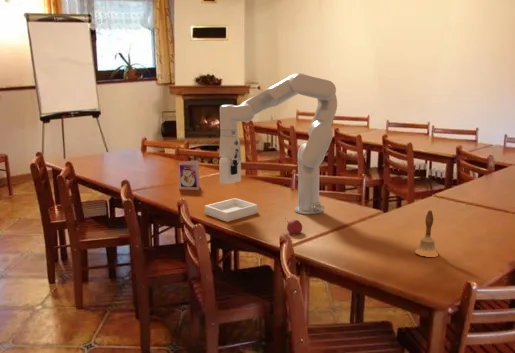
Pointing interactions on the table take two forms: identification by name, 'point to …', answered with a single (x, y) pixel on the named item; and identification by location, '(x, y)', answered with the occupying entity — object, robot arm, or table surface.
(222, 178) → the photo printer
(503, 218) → the table surface
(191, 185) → the greeting card
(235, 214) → the box
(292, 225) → the fruit
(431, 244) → the hand bell
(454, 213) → the table surface
